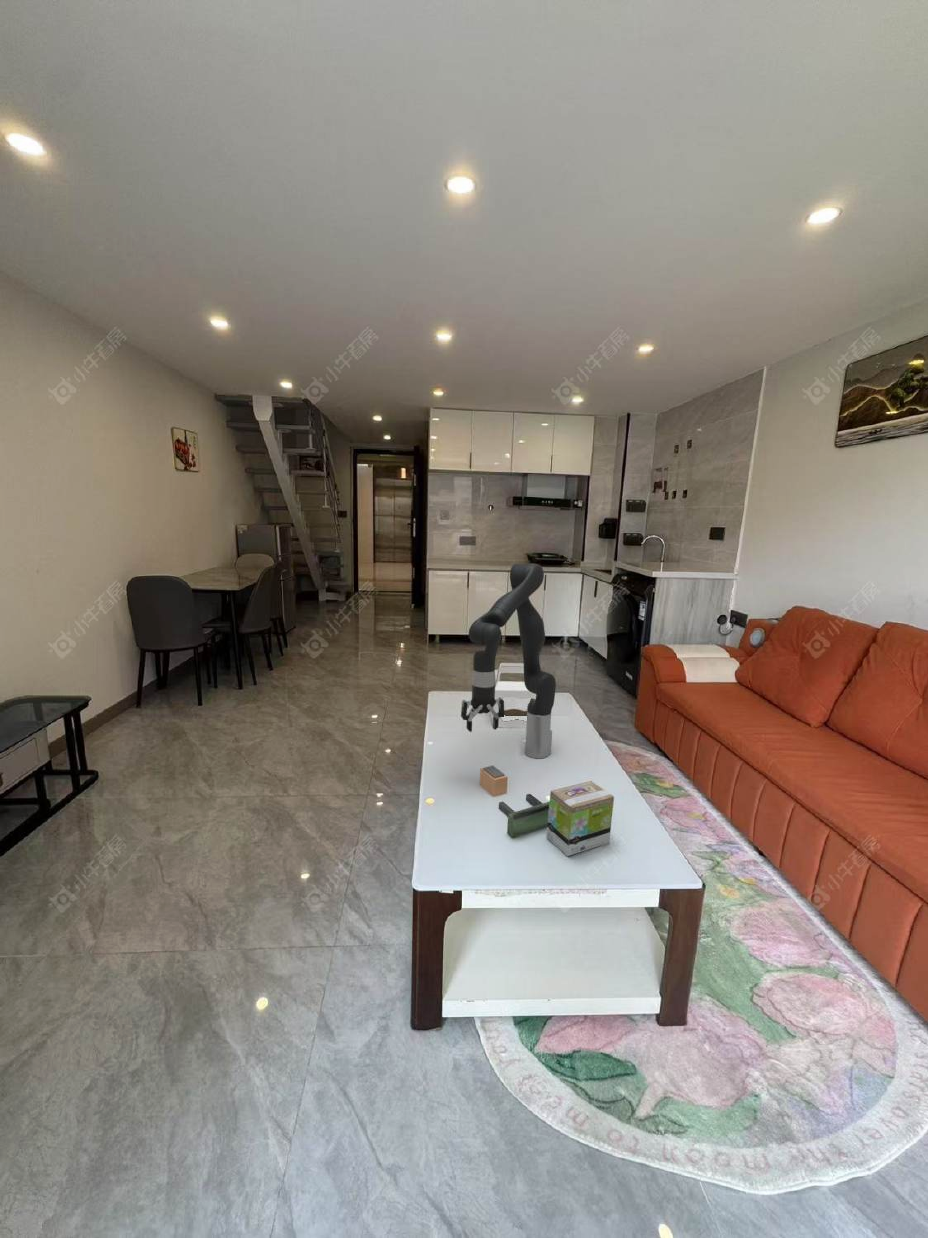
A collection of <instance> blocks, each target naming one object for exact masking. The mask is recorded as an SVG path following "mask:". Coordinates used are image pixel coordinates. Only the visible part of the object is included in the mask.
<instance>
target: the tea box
mask: <svg viewBox="0 0 928 1238" xmlns="http://www.w3.org/2000/svg"><path fill="white" fill-rule="evenodd" d="M614 800H615V796H614V795H612V794H611V793H610V792H608V791H606V790H605V789H604V788H602V787H600V785H598V784H596V783H595V782H593V780H589V781H586V782H581V783H577V784H573V785H569V786H565V787H561V788H557V789H552V790H550V794H549V801H550V803H549V814H548V826H546V838H547V839H548V840H549V841H550V842H551V843H552V844H553V845H554V846H555V847H556V848H558V850H560V851H561V852H562V853H563V854H564V855H565V856H567V857H571V856H572V855H575V854H576V855H577V854H579V853H581V852H584V851H588V850H591V849H594V847H595V848H597V847H601V846H604V845H607V843H608V844H609V843H610V840H611V830H612V818H613V812H614V811H613V808H614V802H615V801H614Z"/></svg>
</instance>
